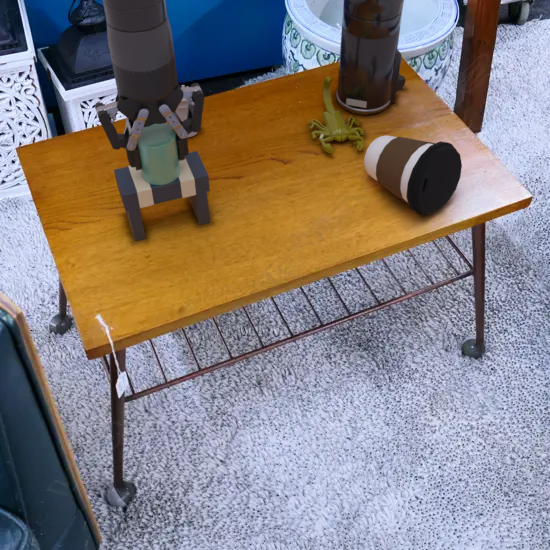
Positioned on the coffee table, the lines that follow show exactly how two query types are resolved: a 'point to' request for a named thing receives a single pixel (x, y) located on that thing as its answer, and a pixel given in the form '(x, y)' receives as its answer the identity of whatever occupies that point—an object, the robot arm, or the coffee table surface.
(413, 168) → the coffee cup
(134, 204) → the barricade
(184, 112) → the rook chess piece
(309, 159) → the coffee table surface
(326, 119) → the scorpion
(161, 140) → the mint green cylinder
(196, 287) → the coffee table surface
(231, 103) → the coffee table surface
